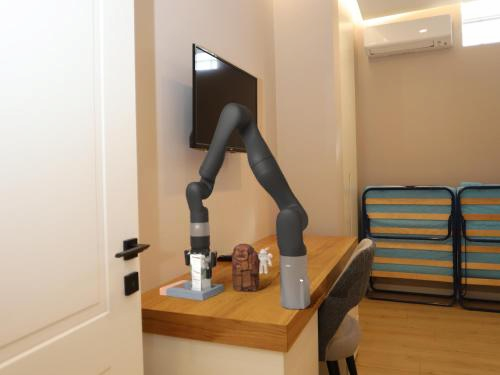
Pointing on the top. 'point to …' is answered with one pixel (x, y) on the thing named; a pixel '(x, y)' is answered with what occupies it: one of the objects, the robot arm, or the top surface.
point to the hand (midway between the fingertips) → (201, 277)
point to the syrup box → (199, 273)
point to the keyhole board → (181, 290)
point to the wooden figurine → (245, 268)
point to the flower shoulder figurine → (264, 260)
